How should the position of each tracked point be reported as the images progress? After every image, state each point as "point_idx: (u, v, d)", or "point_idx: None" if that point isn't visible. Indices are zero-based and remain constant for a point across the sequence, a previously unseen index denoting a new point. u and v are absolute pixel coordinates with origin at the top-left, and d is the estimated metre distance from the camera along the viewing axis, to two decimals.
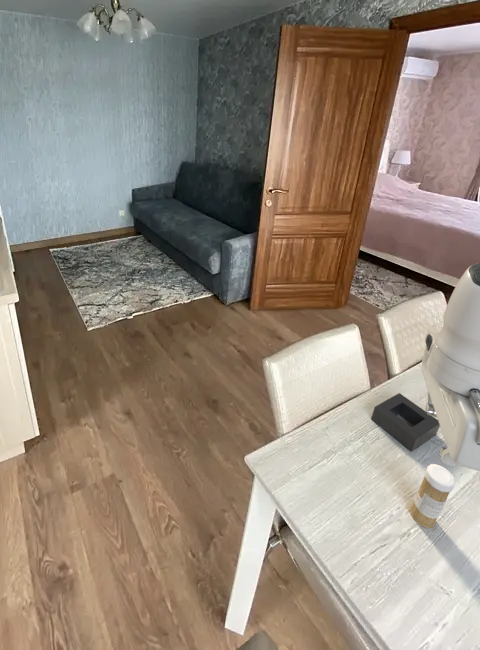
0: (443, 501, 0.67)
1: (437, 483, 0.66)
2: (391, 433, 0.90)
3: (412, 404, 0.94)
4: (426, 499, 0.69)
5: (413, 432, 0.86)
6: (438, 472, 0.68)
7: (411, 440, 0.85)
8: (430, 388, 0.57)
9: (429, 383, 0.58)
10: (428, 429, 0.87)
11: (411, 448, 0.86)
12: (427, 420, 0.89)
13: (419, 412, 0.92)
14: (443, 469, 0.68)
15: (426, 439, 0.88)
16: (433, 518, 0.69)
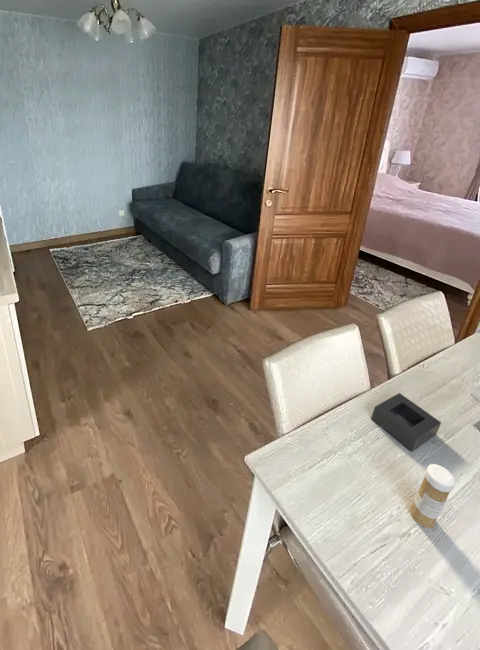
0: (443, 501, 0.67)
1: (437, 484, 0.66)
2: (391, 433, 0.90)
3: (412, 404, 0.94)
4: (426, 499, 0.69)
5: (413, 432, 0.86)
6: (438, 472, 0.68)
7: (411, 440, 0.85)
8: None
9: None
10: (428, 429, 0.87)
11: (411, 448, 0.86)
12: (427, 420, 0.89)
13: (419, 412, 0.92)
14: (443, 469, 0.68)
15: (426, 439, 0.88)
16: (433, 518, 0.69)
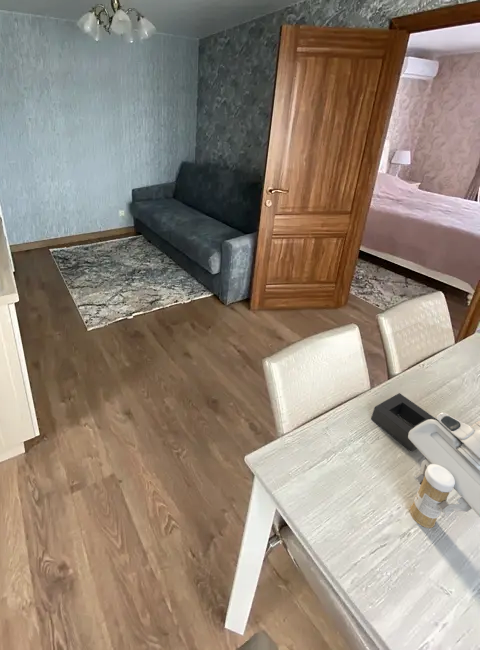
0: None
1: (437, 483, 0.66)
2: (391, 433, 0.90)
3: (412, 404, 0.94)
4: (425, 499, 0.69)
5: None
6: (438, 472, 0.68)
7: None
8: (434, 458, 0.71)
9: (431, 452, 0.72)
10: None
11: (411, 448, 0.86)
12: None
13: (419, 412, 0.92)
14: (443, 469, 0.68)
15: None
16: (433, 518, 0.69)
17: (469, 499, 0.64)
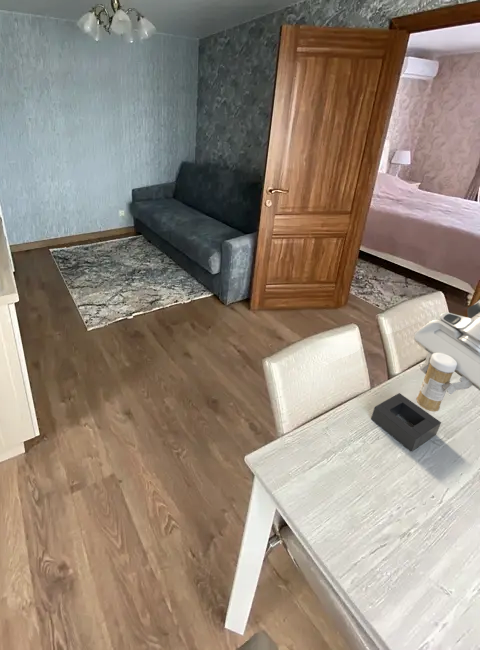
0: None
1: (441, 365, 0.74)
2: (391, 433, 0.90)
3: (412, 404, 0.94)
4: (431, 383, 0.77)
5: (413, 432, 0.86)
6: (442, 357, 0.76)
7: (411, 440, 0.85)
8: (438, 349, 0.79)
9: (435, 346, 0.80)
10: (428, 429, 0.87)
11: (411, 448, 0.86)
12: (427, 420, 0.89)
13: (419, 412, 0.92)
14: (446, 355, 0.76)
15: (426, 439, 0.88)
16: (438, 400, 0.77)
17: (470, 375, 0.72)
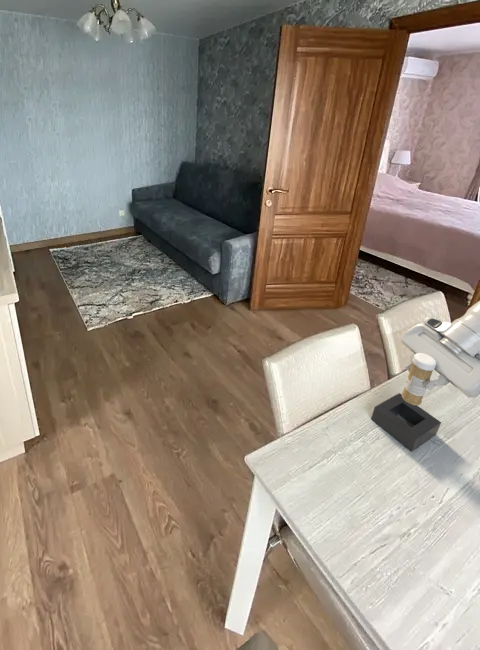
0: None
1: (422, 364, 0.84)
2: (391, 433, 0.90)
3: None
4: (413, 380, 0.86)
5: (413, 432, 0.86)
6: (423, 357, 0.85)
7: (411, 440, 0.85)
8: (421, 350, 0.89)
9: (419, 347, 0.89)
10: (428, 429, 0.87)
11: (411, 448, 0.86)
12: (427, 420, 0.89)
13: (419, 412, 0.92)
14: (427, 355, 0.86)
15: (426, 439, 0.88)
16: (419, 395, 0.87)
17: (447, 373, 0.81)
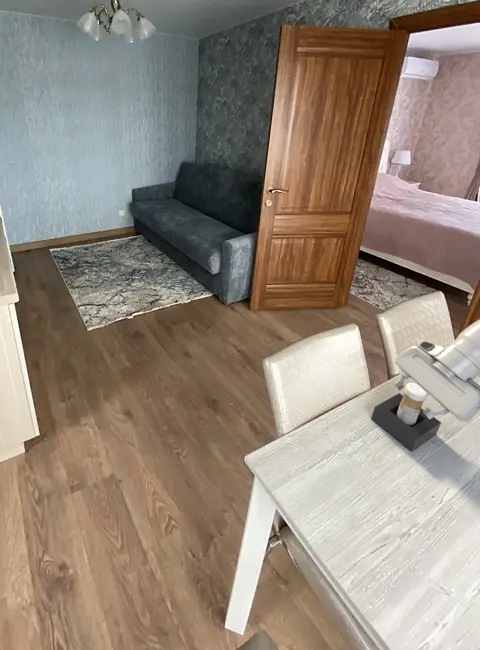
0: (418, 409, 0.88)
1: (413, 395, 0.86)
2: (391, 433, 0.90)
3: None
4: (405, 409, 0.89)
5: (413, 432, 0.86)
6: (414, 387, 0.88)
7: (411, 440, 0.85)
8: (414, 373, 0.91)
9: (412, 369, 0.91)
10: (428, 429, 0.87)
11: (411, 448, 0.86)
12: (427, 420, 0.89)
13: None
14: (418, 386, 0.89)
15: (426, 439, 0.88)
16: (411, 424, 0.90)
17: (439, 397, 0.84)
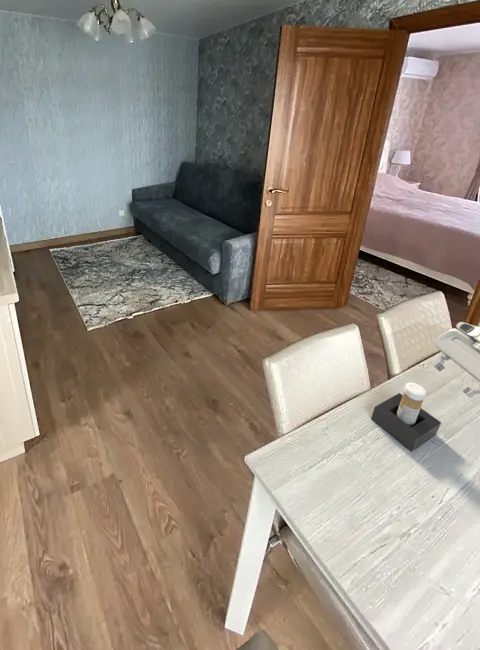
0: (417, 409, 0.88)
1: (412, 394, 0.87)
2: (391, 433, 0.90)
3: None
4: (404, 409, 0.89)
5: (413, 432, 0.86)
6: (413, 387, 0.88)
7: (411, 440, 0.85)
8: (454, 354, 0.93)
9: (452, 351, 0.94)
10: (428, 429, 0.87)
11: (411, 448, 0.86)
12: (427, 420, 0.89)
13: (419, 412, 0.92)
14: (418, 385, 0.89)
15: (426, 439, 0.88)
16: (410, 424, 0.90)
17: None
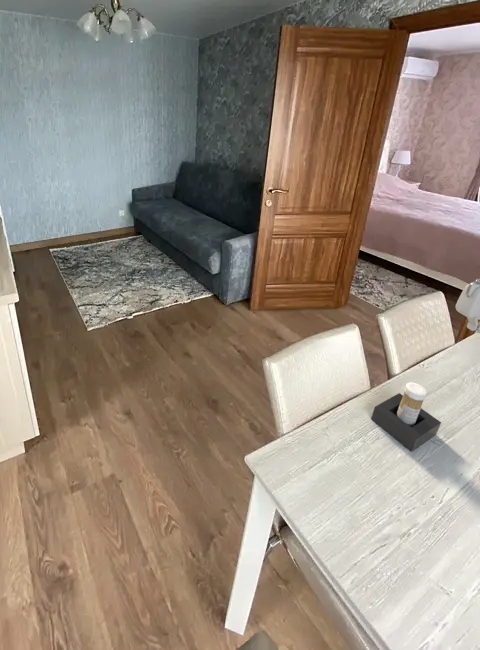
0: (418, 409, 0.88)
1: (413, 394, 0.87)
2: (391, 433, 0.90)
3: None
4: (404, 409, 0.89)
5: (413, 432, 0.86)
6: (414, 387, 0.88)
7: (411, 440, 0.85)
8: None
9: None
10: (428, 429, 0.87)
11: (411, 448, 0.86)
12: (427, 420, 0.89)
13: (419, 412, 0.92)
14: (418, 385, 0.89)
15: (426, 439, 0.88)
16: (410, 424, 0.90)
17: None
